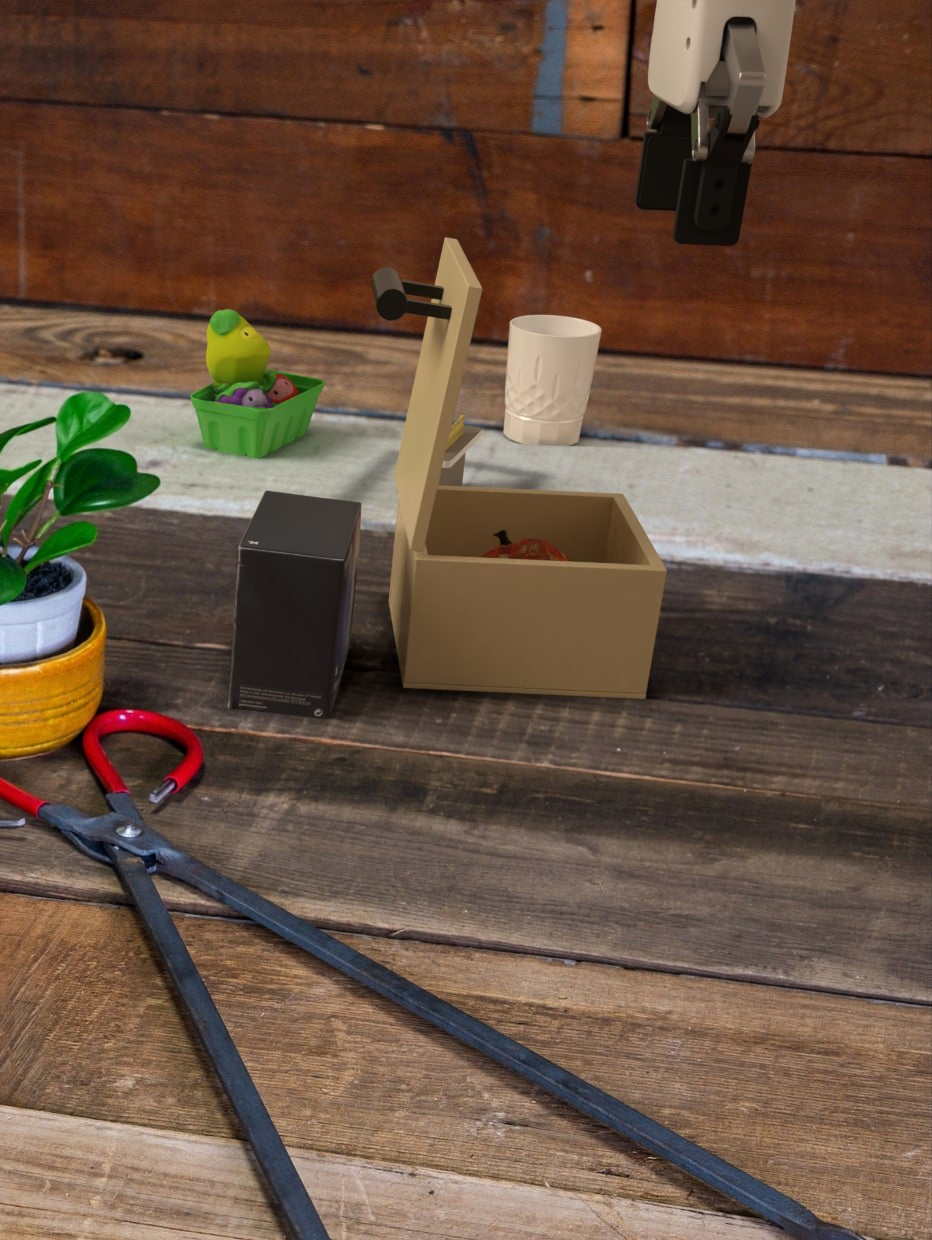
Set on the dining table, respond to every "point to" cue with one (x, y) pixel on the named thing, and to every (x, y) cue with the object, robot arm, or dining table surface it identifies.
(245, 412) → the fruit basket
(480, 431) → the platform
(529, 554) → the red round fruit
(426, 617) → the tan open box
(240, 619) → the small box
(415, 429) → the lid
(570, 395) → the white cup
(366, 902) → the dining table surface
